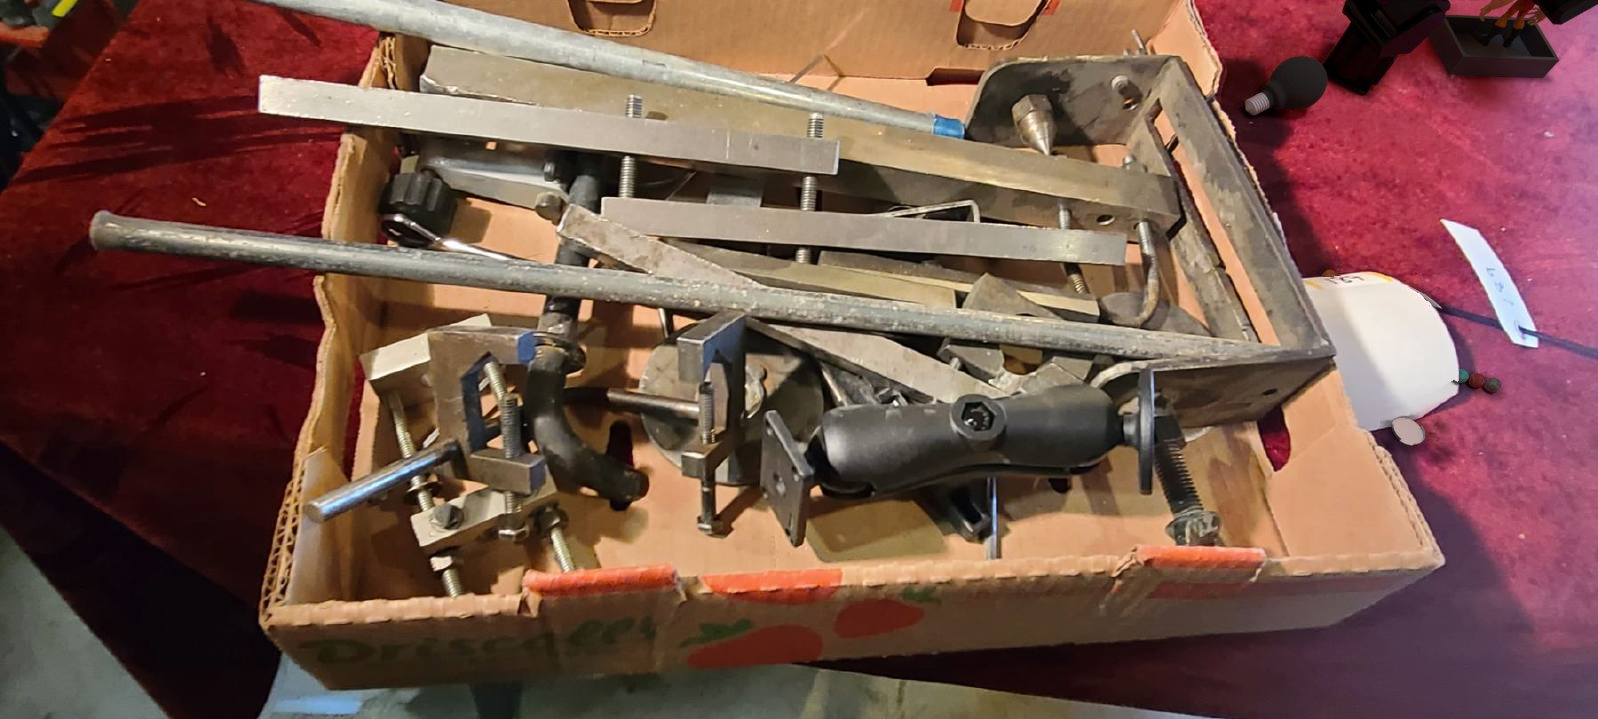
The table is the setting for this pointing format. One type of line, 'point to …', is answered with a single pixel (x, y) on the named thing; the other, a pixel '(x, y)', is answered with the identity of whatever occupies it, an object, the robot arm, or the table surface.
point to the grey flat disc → (1407, 431)
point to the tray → (1492, 48)
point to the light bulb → (1291, 86)
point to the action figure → (1521, 5)
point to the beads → (1479, 381)
